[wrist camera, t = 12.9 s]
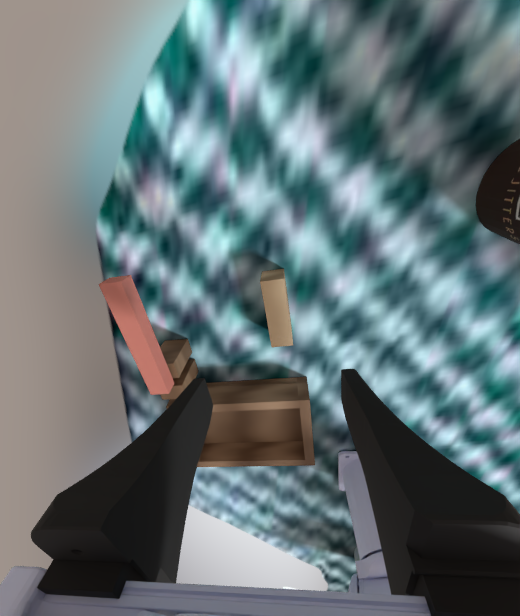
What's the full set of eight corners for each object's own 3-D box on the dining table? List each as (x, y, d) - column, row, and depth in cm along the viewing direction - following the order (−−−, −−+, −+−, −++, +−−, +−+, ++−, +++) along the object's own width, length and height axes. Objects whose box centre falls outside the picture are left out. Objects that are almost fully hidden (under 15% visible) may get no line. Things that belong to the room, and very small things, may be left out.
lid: (356, 235, 19) (368, 244, 17) (356, 334, 23) (365, 354, 21) (191, 260, 21) (179, 272, 19) (217, 347, 25) (210, 367, 23)
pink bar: (130, 275, 17) (120, 281, 16) (174, 383, 22) (168, 393, 21) (109, 277, 17) (98, 284, 16) (157, 384, 22) (151, 394, 21)
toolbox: (302, 328, 23) (306, 353, 20) (311, 439, 30) (315, 471, 27) (159, 341, 25) (141, 365, 21) (200, 442, 32) (191, 472, 29)
